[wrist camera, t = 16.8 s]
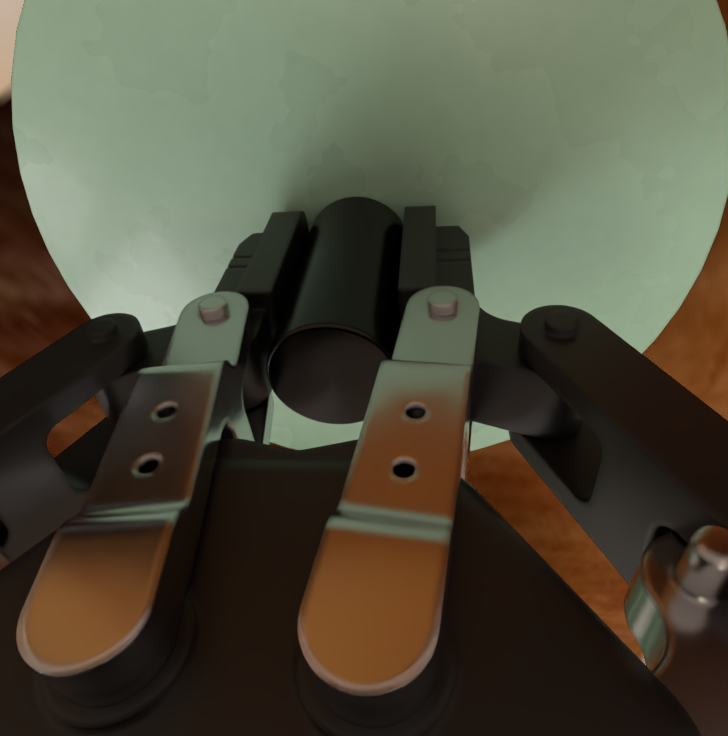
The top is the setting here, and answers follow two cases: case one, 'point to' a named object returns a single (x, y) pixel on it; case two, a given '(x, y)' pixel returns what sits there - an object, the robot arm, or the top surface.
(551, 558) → the top surface
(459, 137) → the pan lid
